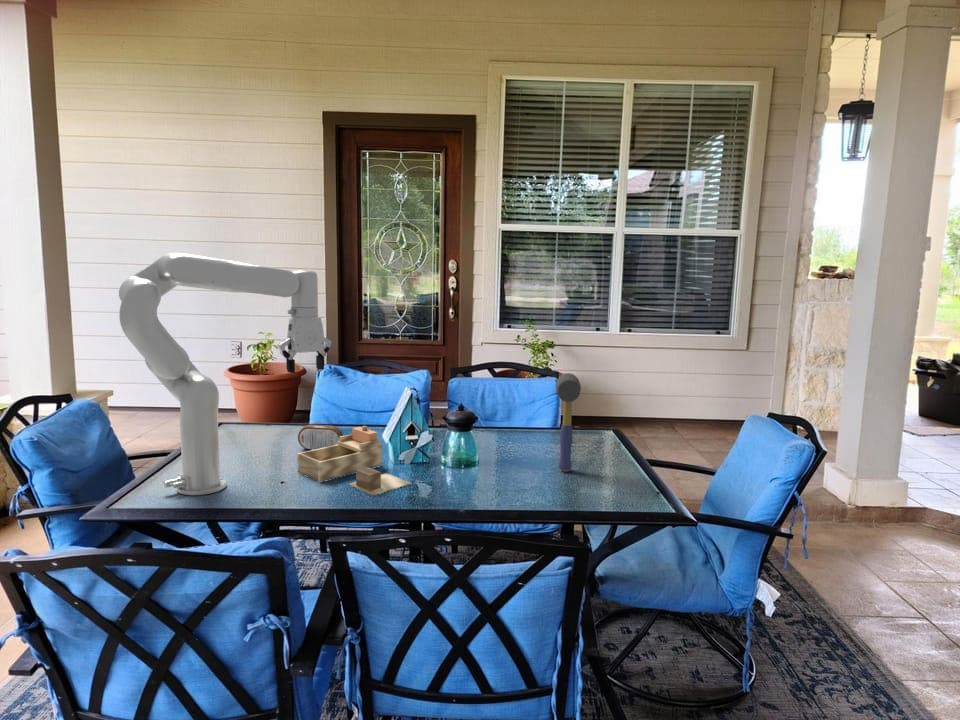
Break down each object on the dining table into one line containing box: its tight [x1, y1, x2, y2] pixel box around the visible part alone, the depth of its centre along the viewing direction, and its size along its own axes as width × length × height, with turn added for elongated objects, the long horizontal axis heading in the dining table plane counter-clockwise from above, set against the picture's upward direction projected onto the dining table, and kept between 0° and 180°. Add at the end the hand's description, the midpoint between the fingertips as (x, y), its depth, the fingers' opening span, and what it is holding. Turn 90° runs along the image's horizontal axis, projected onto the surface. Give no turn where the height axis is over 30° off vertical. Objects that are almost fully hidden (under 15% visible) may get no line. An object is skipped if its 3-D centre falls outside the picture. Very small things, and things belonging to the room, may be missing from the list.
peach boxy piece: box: [351, 425, 379, 443], centre depth 204 cm, size 3×9×5 cm, turn 46°
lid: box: [348, 467, 412, 497], centre depth 186 cm, size 14×12×6 cm
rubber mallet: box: [555, 372, 582, 472], centre depth 200 cm, size 12×8×30 cm, turn 173°
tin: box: [297, 424, 344, 450], centre depth 219 cm, size 15×3×8 cm, turn 84°
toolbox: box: [296, 433, 383, 483], centre depth 198 cm, size 22×12×8 cm, turn 136°
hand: (305, 370), depth 194 cm, fingers open, 9 cm apart
